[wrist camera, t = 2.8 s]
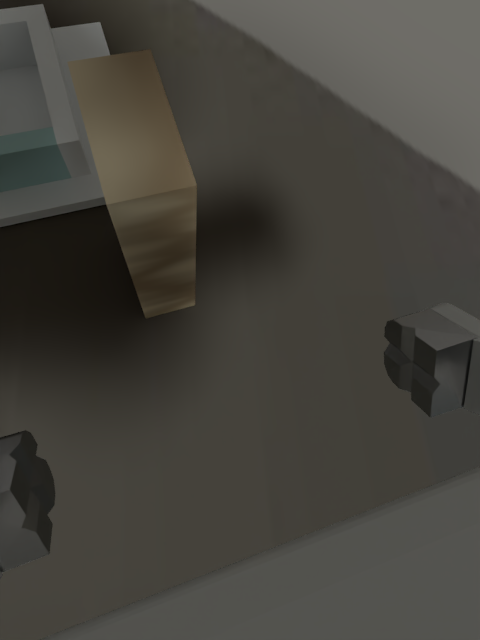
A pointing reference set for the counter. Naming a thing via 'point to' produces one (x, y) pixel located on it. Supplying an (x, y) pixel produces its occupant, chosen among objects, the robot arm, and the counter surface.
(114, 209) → the wooden block
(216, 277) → the counter surface
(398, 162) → the counter surface
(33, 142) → the white square socket base
